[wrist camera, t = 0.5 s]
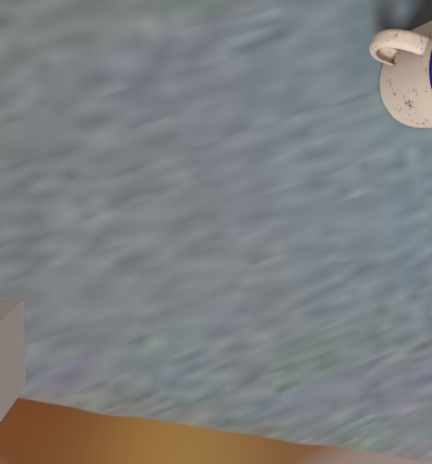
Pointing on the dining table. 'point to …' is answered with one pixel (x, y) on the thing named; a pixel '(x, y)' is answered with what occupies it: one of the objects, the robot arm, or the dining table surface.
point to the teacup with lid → (406, 73)
